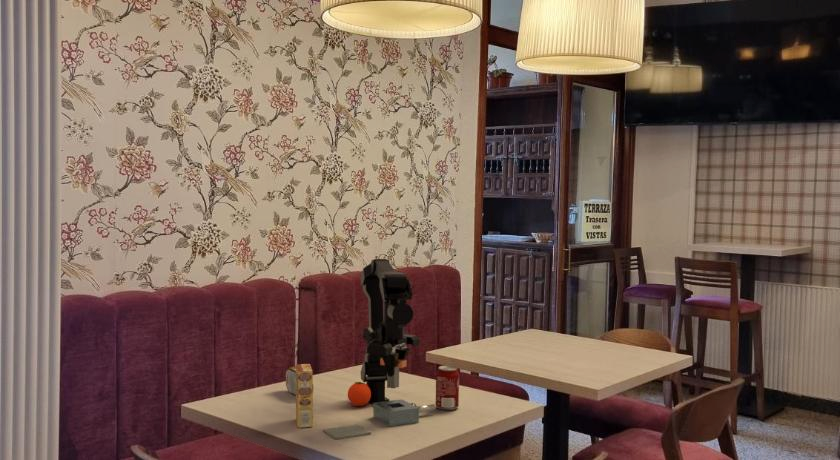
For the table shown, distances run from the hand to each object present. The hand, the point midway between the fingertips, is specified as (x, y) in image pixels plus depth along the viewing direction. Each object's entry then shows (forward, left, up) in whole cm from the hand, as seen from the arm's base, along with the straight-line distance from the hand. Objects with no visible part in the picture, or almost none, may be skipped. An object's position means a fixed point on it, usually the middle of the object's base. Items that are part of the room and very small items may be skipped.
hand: (393, 375), depth 220 cm
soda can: (-5, +20, -13) cm, 25 cm away
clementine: (-19, -2, -13) cm, 23 cm away
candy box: (-9, -23, -13) cm, 27 cm away
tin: (-37, -14, -13) cm, 41 cm away
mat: (+4, -16, -13) cm, 21 cm away
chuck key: (0, 0, -3) cm, 3 cm away
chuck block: (-1, +5, -13) cm, 14 cm away
